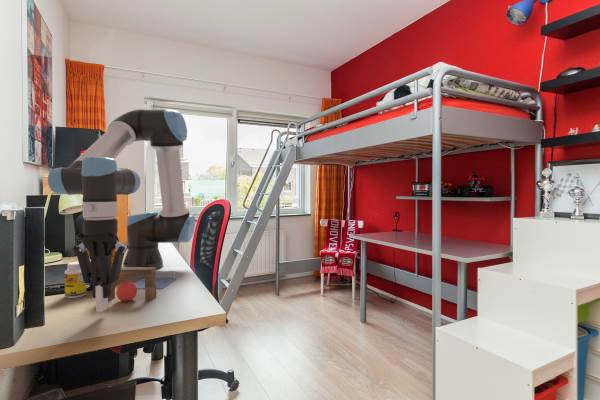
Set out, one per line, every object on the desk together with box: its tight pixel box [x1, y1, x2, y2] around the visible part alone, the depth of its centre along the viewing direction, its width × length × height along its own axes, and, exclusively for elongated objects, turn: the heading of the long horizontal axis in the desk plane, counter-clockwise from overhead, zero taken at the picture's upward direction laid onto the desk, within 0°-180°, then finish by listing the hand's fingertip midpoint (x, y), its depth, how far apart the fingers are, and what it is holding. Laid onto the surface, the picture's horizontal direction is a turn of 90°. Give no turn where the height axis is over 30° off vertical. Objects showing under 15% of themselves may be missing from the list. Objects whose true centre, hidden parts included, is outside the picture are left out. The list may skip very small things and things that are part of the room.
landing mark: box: [134, 277, 177, 290], centre depth 112 cm, size 12×12×1 cm
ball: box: [115, 281, 138, 302], centre depth 95 cm, size 6×6×6 cm
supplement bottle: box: [64, 261, 88, 299], centre depth 99 cm, size 6×6×10 cm
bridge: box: [108, 266, 157, 302], centre depth 96 cm, size 3×14×9 cm, turn 91°
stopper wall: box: [156, 270, 176, 279], centre depth 119 cm, size 2×10×2 cm, turn 91°
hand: (102, 309), depth 82 cm, fingers closed
